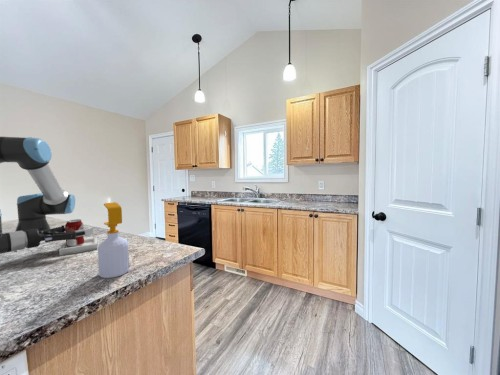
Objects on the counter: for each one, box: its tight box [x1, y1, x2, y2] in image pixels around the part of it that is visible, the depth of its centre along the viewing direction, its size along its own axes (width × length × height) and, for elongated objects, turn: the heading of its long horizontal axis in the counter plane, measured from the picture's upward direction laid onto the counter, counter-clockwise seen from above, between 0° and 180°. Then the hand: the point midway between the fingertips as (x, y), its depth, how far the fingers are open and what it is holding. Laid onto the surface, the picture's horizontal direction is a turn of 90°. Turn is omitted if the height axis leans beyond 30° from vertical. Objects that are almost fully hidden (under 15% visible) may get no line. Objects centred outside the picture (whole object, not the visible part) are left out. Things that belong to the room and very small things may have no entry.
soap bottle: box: [97, 201, 130, 279], centre depth 78 cm, size 9×9×25 cm
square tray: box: [58, 236, 99, 256], centre depth 106 cm, size 13×13×2 cm
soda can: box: [64, 218, 85, 247], centre depth 106 cm, size 7×7×12 cm
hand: (87, 228), depth 108 cm, fingers open, 13 cm apart
